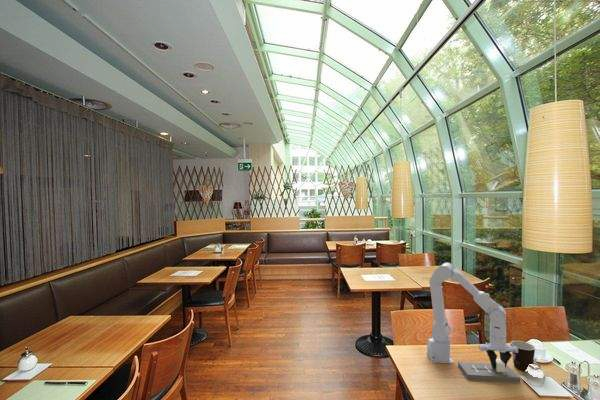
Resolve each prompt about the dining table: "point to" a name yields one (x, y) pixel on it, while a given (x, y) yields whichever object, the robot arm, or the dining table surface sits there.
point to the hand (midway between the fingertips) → (498, 368)
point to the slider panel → (487, 372)
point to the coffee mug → (523, 355)
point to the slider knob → (500, 365)
